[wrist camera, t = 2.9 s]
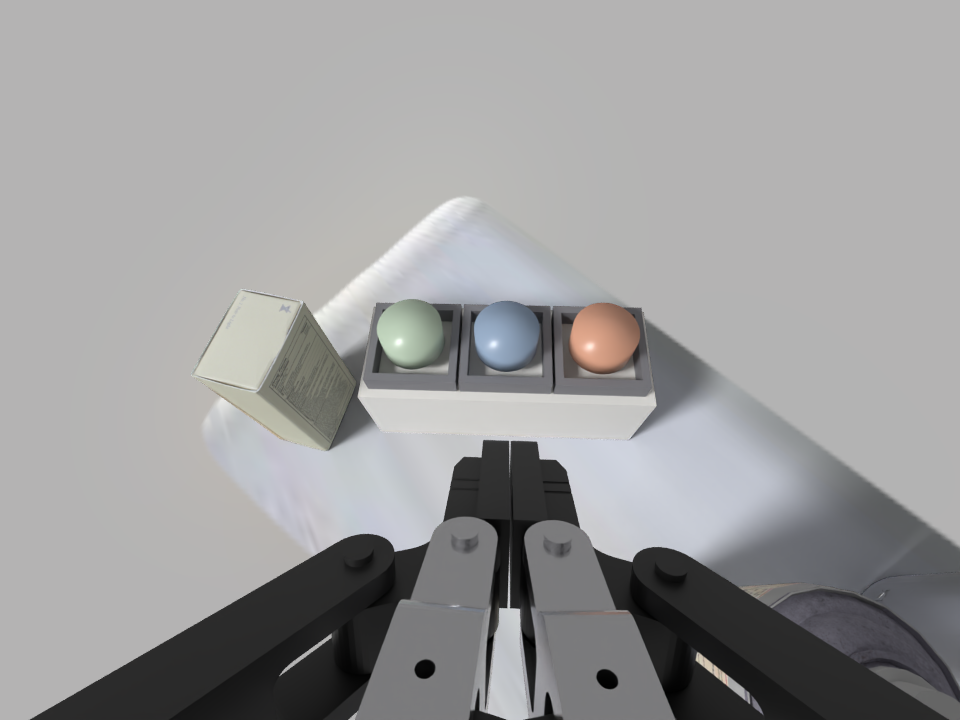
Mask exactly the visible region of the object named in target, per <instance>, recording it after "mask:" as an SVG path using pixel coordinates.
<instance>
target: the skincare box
mask: <svg viewBox="0 0 960 720" xmlns="http://www.w3.org/2000/svg"><path fill="white" fill-rule="evenodd" d="M191 375H192V376H193V377H194V378H196V379H197V380H198V381H200V382H201V383H203V384H204V385H206V386H207V387H208V388H210V389H211V390H212V391H214V392H216V393H217V394H218V395H219V396H221V397H222V398H224V399H225V400H226V401H228V402H229V403H231V404H232V405H233V406H235V407H236V408H238V409H239V410H241V411H242V412H243V413H245V414H246V415H248V416H249V417H250V418H252V419H253V420H255V421H256V422H257V423H259V424H260V425H262V426H263V427H264V428H266V429H267V430H269V431H270V432H271V433H273V434H274V435H275V436H277V437H278V438H280V439H283V440H286V441H290V442H293V443H296V444H300V445H304V446H307V447H311V448H315V449H319V450H323V451H327V450H329V448H330V446H331V444H332V441H333V439H334V437H335V435H336V432H337V430H338V427H339V425H340V423H341V420H342V418H343V416H344V413H345V411H346V408H347V406H348V404H349V401H350V399H351V396H352V393H353V391H354V388H355V386H356V381H355V379H354V378H353V376H352V375H351V373H350V372H349V370H348V369H347V367H346V366H345V364H344V363H343V361H342V360H341V358H340V357H339V355H338V353H337V352H336V350H335V349H334V347H333V346H332V344H331V343H330V341H329V340H328V338H327V337H326V335H325V334H324V332H323V331H322V329H321V327H320V326H319V325H318V323H317V322H316V320H315V318H314V317H313V315H312V314H311V312H310V311H309V309H308V308H307V306H306V304H305V303H304V302H303V301H300V300H295V299H291V298H286V297H282V296H277V295H272V294H268V293H263V292H258V291H252V290H247V289H240V290H239V292H238V293H237V295H236V297H235V298H234V300H233V301H232V303H231V305H230V306H229V308H228V310H227V312H226V313H225V315H224V316H223V318H222V320H221V321H220V323H219V325H218V326H217V328H216V331H215V332H214V334H213V335H212V337H211V339H210V341H209V342H208V344H207V346H206V348H205V349H204V351H203V353H202V355H201V357H200V358H199V360H198V362H197V363H196V365H195V367H194V369H193V371H192V373H191Z"/></svg>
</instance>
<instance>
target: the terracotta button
mask: <svg viewBox="0 0 960 720" xmlns="http://www.w3.org/2000/svg"><path fill="white" fill-rule="evenodd" d="M639 340H640V329H639V325H638V323H637V321H636V319H635V318H634V317H633V316H632V315H631V314H630V313H629V312H628V311H627V310H625V309H624V308H622V307H620V306H617V305H614V304H610V303H596V304H592V305H589V306H587V307H585V308H584V309H582V310H581V311H580V312H579V313H578V315H577V316H576V318H575V320H574V323H573V327H572V330H571V334H570V338H569V343H568V346H569V352H570V354H571V357H572V358H573V360H574V361H575V362H576V363H577V364H578V365H579V366H580V367H581V368H583V369H584V370H586V371H588V372H591V373H595V374H602V375H603V374H611V373H615V372H617V371H619V370H621V369H622V368H623V367H625V365H626V364H627V363H628V361H629V360H630V358H631V356H632V354H633V352H634V351H635V349H636V347H637V345H638V343H639Z"/></svg>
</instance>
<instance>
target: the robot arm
mask: <svg viewBox="0 0 960 720" xmlns="http://www.w3.org/2000/svg"><path fill="white" fill-rule="evenodd" d="M509 547H510V608H516V609H520V619H521V622H520V649H521V657H522V666H523V674H524V682H525V691H526V699H527V708H528V716H529V719H525V720H949V719H947V718H946V717H944V716H943V715H941V714H939V713H938V712H936V711H935V710H933V709H931V708H930V707H928V706H927V705H925V704H923V703H922V702H920V701H919V700H917V699H915V698H914V697H912V696H911V695H909V694H908V693H906V692H904V691H903V690H901V689H900V688H898V687H896V686H895V685H893V684H892V683H890V682H888V681H887V680H885V679H884V678H882V677H880V676H879V675H877V674H876V673H874V672H872V671H871V670H869V669H868V668H866V667H865V666H863V665H861V664H860V663H858V662H857V661H855V660H853V659H852V658H850V657H849V656H847V655H845V654H844V653H842V652H841V651H839V650H837V649H836V648H834V647H833V646H831V645H829V644H828V643H826V642H825V641H823V640H822V639H820V638H818V637H817V636H815V635H814V634H812V633H810V632H809V631H807V630H806V629H804V628H802V627H801V626H799V625H798V624H796V623H794V622H793V621H791V620H790V619H788V618H786V617H785V616H783V615H782V614H780V613H779V612H777V611H775V610H774V609H772V608H771V607H769V606H767V605H766V604H764V603H763V602H761V601H759V600H758V599H756V598H755V597H753V596H751V595H750V594H748V593H747V592H745V591H743V590H742V589H740V588H739V587H737V586H736V585H734V584H732V583H731V582H729V581H728V580H726V579H724V578H723V577H721V576H720V575H718V574H716V573H715V572H713V571H712V570H710V569H708V568H707V567H705V566H704V565H702V564H700V563H699V562H697V561H696V560H694V559H693V558H691V557H689V556H687V555H686V554H683V553H681V552H679V551H676V550H673V549H668V548H662V547H652V548H647V549H643V550H641V551H640V552H638V553H637V554H636V555H635V557H634V559H633V562H629V561H625V560H622V559H618V558H615V557H612V556H609V555H606V554H604V553H602V552H600V551H598V550H596V549H595V548H594V547H593V546H592V544H591V541H590V539H589V537H588V536H587V534H586V533H585V532H584V531H583V530H581V529H580V526H579V522H578V518H577V513H576V509H575V505H574V501H573V497H572V494H571V488H570V484H569V480H568V476H567V471H566V470H565V469H564V468H563V467H562V466H561V464H560V463H559V462H558V461H557V460H540V459H539V452H538V444H537V442H530V441H511V455H510V473H509V441H496V440H483V449H482V458H478V457H463V458H462V459H461V460H460V461H459V462H458V463H457V464H456V465H455V466H454V471H453V476H452V481H451V486H450V491H449V496H448V501H447V506H446V511H445V516H444V521H443V523H441V524H440V525H439V526H438V527H437V528H436V529H435V530H434V532H433V535H432V538H431V540H430V541H429V542H428V543H426V544H424V545H422V546H419V547H416V548H412V549H407V550H402V551H397V552H394V548H393V545H392V544H391V543H390V542H389V541H388V540H387V539H385V538H383V537H381V536H378V535H373V534H360V535H355V536H351V537H348V538H345V539H343V540H341V541H339V542H337V543H336V544H334V545H332V546H330V547H329V548H327V549H325V550H323V551H322V552H320V553H318V554H317V555H315V556H313V557H311V558H310V559H308V560H306V561H304V562H303V563H301V564H299V565H297V566H296V567H294V568H292V569H290V570H289V571H287V572H285V573H284V574H282V575H280V576H278V577H277V578H275V579H273V580H272V581H270V582H268V583H266V584H265V585H263V586H261V587H259V588H258V589H256V590H254V591H252V592H251V593H249V594H247V595H246V596H244V597H242V598H240V599H238V600H237V601H235V602H233V603H232V604H230V605H228V606H226V607H225V608H223V609H221V610H219V611H218V612H216V613H214V614H212V615H211V616H209V617H208V618H205V619H204V620H202V621H200V622H199V623H197V624H195V625H194V626H192V627H190V628H188V629H186V630H185V631H183V632H181V633H180V634H178V635H176V636H174V637H173V638H171V639H169V640H167V641H166V642H164V643H162V644H160V645H159V646H157V647H155V648H154V649H152V650H150V651H148V652H147V653H145V654H143V655H141V656H140V657H138V658H136V659H134V660H133V661H131V662H129V663H128V664H126V665H124V666H122V667H121V668H119V669H117V670H115V671H114V672H112V673H110V674H109V675H107V676H105V677H103V678H102V679H100V680H98V681H96V682H94V683H93V684H91V685H89V686H87V687H86V688H84V689H82V690H81V691H79V692H77V693H76V694H74V695H72V696H70V697H68V698H67V699H65V700H63V701H61V702H60V703H58V704H56V705H55V706H53V707H51V708H49V709H48V710H46V711H44V712H42V713H41V714H39V715H37V716H35V717H34V718H32V719H30V720H348V719H349V718H350V717H351V716H353V715H354V714H355V713H356V712H357V711H358V713H357V716H356V718H355V720H506V719H503V718H500V717H497V716H494V715H491V714H488V713H487V711H488V702H489V693H490V684H491V675H492V666H493V656H494V647H495V632H496V630H497V627H498V623H499V608H507V603H508V573H509ZM862 595H863V596H865V597H867V598H869V599H871V600H874V601H876V602H878V603H880V604H882V605H885V606H887V607H888V608H889V609H891V610H892V611H893V612H895V613H896V614H897V615H898V616H900V617H901V618H902V619H904V620H905V621H906V622H908V623H909V624H910V625H911V626H913V627H914V628H915V629H917V630H918V631H919V632H920V633H921V634H922V635H923V636H924V638H925V639H926V640H927V641H928V642H929V644H930V645H931V646H932V647H933V648H934V649H935V651H936V652H937V653H938V654H939V655H940V656H941V658H942V659H943V660H944V661H945V662H946V664H947V665H948V666H949V668H950V670H951V672H952V673H953V675H954V677H955V679H956V681H957V683H958V684H959V686H960V572H954V573H952V572H951V573H935V574H919V575H904V576H895V577H889V578H884V579H882V580H880V581H878V582H876V583H874V584H872V585H871V586H870V587H869V588H868V589H867V590H866V591H864V592H863V594H862ZM331 633H332V638H331V639H329V640H328V641H327V642H325V643H324V644H323V645H321V646H320V647H319V648H317V649H316V650H315V651H313V652H312V653H310V654H309V655H308V656H306V657H305V658H304V659H302V660H301V661H300V662H298V663H297V664H296V665H294V666H293V667H291V668H290V669H289V670H287V671H286V672H285V673H283V674H282V675H281V676H279V675H280V674H281V673H282V671H283V670H284V669H285V668H286V667H287V666H288V665H289V664H290V663H292V662H293V661H294V660H296V659H297V658H298V657H300V656H301V655H302V654H304V653H305V652H307V651H308V650H309V649H311V648H312V647H313V646H315V645H316V644H317V643H319V642H320V641H322V640H323V639H324V638H326V637H327V636H328V635H330V634H331ZM697 652H698V653H700V654H701V655H702V656H703V657H705V658H706V659H707V660H708V661H710V662H711V663H712V664H714V665H715V666H716V667H717V668H719V669H720V670H721V671H722V672H724V673H725V674H726V675H727V676H729V677H730V678H731V679H733V680H734V681H735V682H736V683H738V684H739V685H740V686H741V687H743V688H744V689H745V690H746V691H747V692H749V693H750V694H751V696H752V697H753V698H754V699H755V700H756V702H757V703H758V705H759V706H760V708H761V710H762V712H763V714H762V713H760V712H759V711H758V710H757V709H755V708H754V707H753V706H752V705H750V704H749V703H748V702H747V701H745V700H744V699H743V698H742V697H741V696H739V695H738V694H737V693H736V692H734V691H733V690H732V689H731V688H729V687H728V686H727V685H726V684H724V683H723V682H722V681H721V680H719V679H718V678H717V677H716V676H714V675H713V674H712V673H711V672H710V671H708V670H707V669H706V668H705V667H703V666H702V665H701V664H700V663H698V662H697V661H696V656H697Z"/></svg>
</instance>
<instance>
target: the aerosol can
mask: <svg viewBox="0 0 960 720" xmlns="http://www.w3.org/2000/svg"><path fill="white" fill-rule="evenodd" d="M739 588H740V589H742V590H743V591H745V592H747V593H748V594H750V595H751V596H753V597H755V598H756V599H758V600H759V601H761V602H763V603H764V604H766V605H767V606H769V607H771V608H772V609H774V610H775V611H777V612H779V613H780V614H782V615H783V616H785V617H786V618H788V619H790V620H791V621H793V622H794V623H796V624H798V625H799V626H801V627H802V628H804V629H806V630H807V631H809V632H810V633H812V634H814V635H815V636H817V637H818V638H820V639H822V640H823V641H825V642H826V643H828V644H829V645H831V646H833V647H834V648H836V649H837V650H839V651H841V652H842V653H844V654H845V655H847V656H849V657H850V658H852V659H853V660H855V661H857V662H858V663H860V664H861V665H863V666H865V667H866V668H868V669H869V670H871V671H872V672H874V673H876V674H877V675H879V676H880V677H882V678H884V679H885V680H887V681H888V682H890V683H892V684H893V685H895V686H896V687H898V688H900V689H901V690H903V691H904V692H906V693H908V694H909V695H911V696H912V697H914V698H915V699H917V700H919V701H920V702H922V703H923V704H925V705H927V706H928V707H930V708H931V709H933V710H935V711H936V712H938V713H939V714H941V715H943V716H944V717H946V718H947V719H949V720H960V686H959V684H958V683H957V681H956V679H955V677H954V675H953V673H952V672H951V670H950V668H949V666H948V665H947V664H946V662H945V661H944V660H943V659H942V658H941V656H940V655H939V654H938V653H937V652H936V651H935V649H934V648H933V647H932V646H931V645H930V644H929V642H928V641H927V640H926V639H925V638H924V636H923V635H922V634H921V633H920V632H919V631H918V630H917V629H915V628H914V627H913V626H911V625H910V624H909V623H908V622H906V621H905V620H904V619H902V618H901V617H900V616H898V615H897V614H896V613H895V612H893V611H892V610H891V609H889V608H888V607H887V606H885V605H882V604H880V603H878V602H876V601H874V600H871V599H869V598H867V597H865V596H863V595H860V594H858V593H856V592H854V591H848V590H842V589H837V588H835V587H829V586H822V585H815V584H808V583H787V584H771V585H755V586H739ZM696 661H697V662H698V663H700V664H701V665H702V666H703V667H705V668H706V669H707V670H708V671H710V672H711V673H712V674H713V675H714V676H716V677H717V678H718V679H719V680H721V681H722V682H723V683H724V684H726V685H727V686H728V687H729V688H731V689H732V690H733V691H734V692H736V693H737V694H738V695H739V696H741V697H742V698H743V699H744V700H745V701H747V702H748V703H749V704H750V705H752V706H753V707H754V708H755V709H757V710H758V711H759V712H760V713H762V714H763V712H762V710H761V708H760V706H759V705H758V703H757V702H756V700H755V699H754V698H753V697H752V696H751V694H750V693H749V692H747V691H746V690H745V689H744V688H743V687H741V686H740V685H739V684H738V683H736V682H735V681H734V680H733V679H731V678H730V677H729V676H727V675H726V674H725V673H724V672H722V671H721V670H720V669H719V668H717V667H716V666H715V665H714V664H712V663H711V662H710V661H708V660H707V659H706V658H705V657H703V656H702V655H701V654H700V653H698V652H697V656H696Z"/></svg>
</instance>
